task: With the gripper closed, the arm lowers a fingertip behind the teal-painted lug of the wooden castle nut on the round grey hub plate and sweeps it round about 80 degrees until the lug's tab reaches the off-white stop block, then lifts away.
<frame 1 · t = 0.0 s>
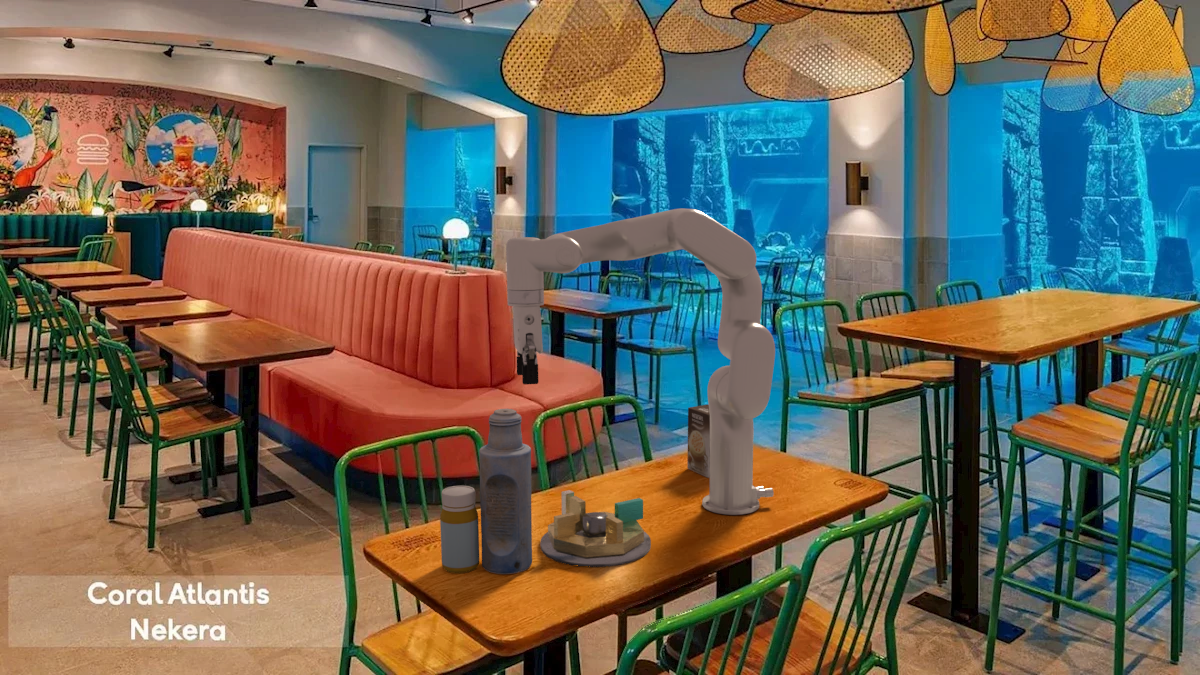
hand: (527, 379, 197), 31 cm above the table, tool pointing down, fingers open, 9 cm apart
coffee box: (707, 472, 237), on the table
hub: (595, 545, 189), on the table
bottle 2: (507, 566, 179), on the table
wooden castle nut: (599, 523, 188), point 4 cm above the table, hinge at 0.0°
bottle: (460, 568, 178), on the table
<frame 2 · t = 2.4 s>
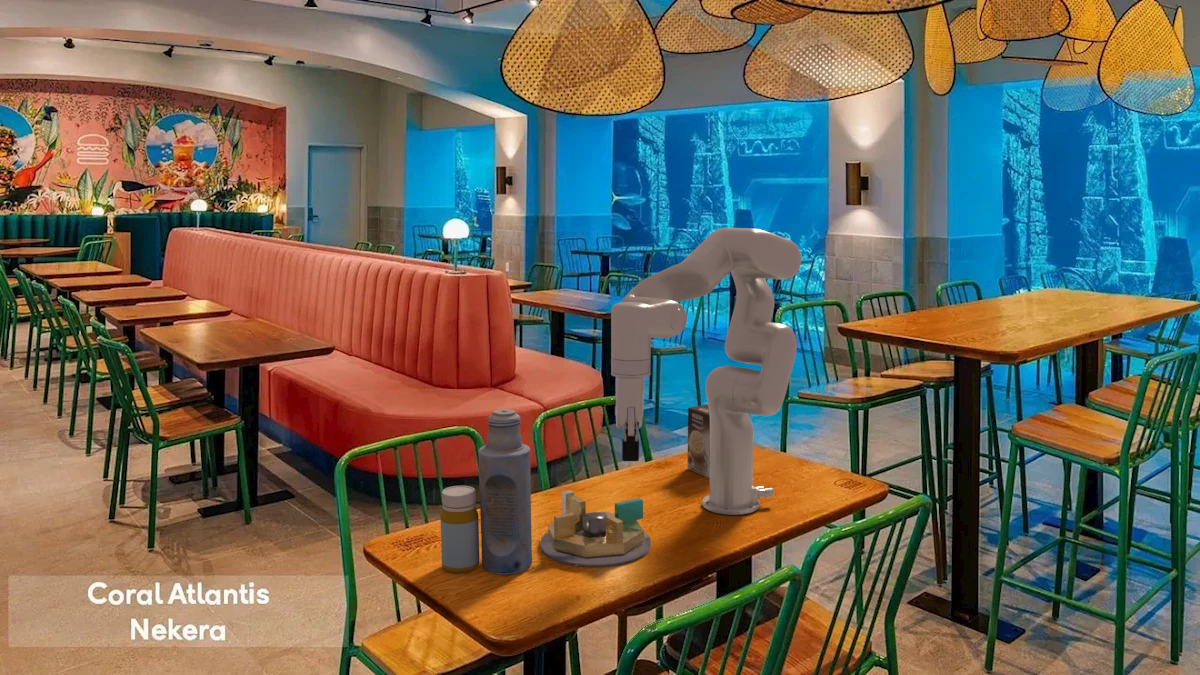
hand: (630, 459, 183), 18 cm above the table, tool pointing down, fingers closed
nothing on the table moved.
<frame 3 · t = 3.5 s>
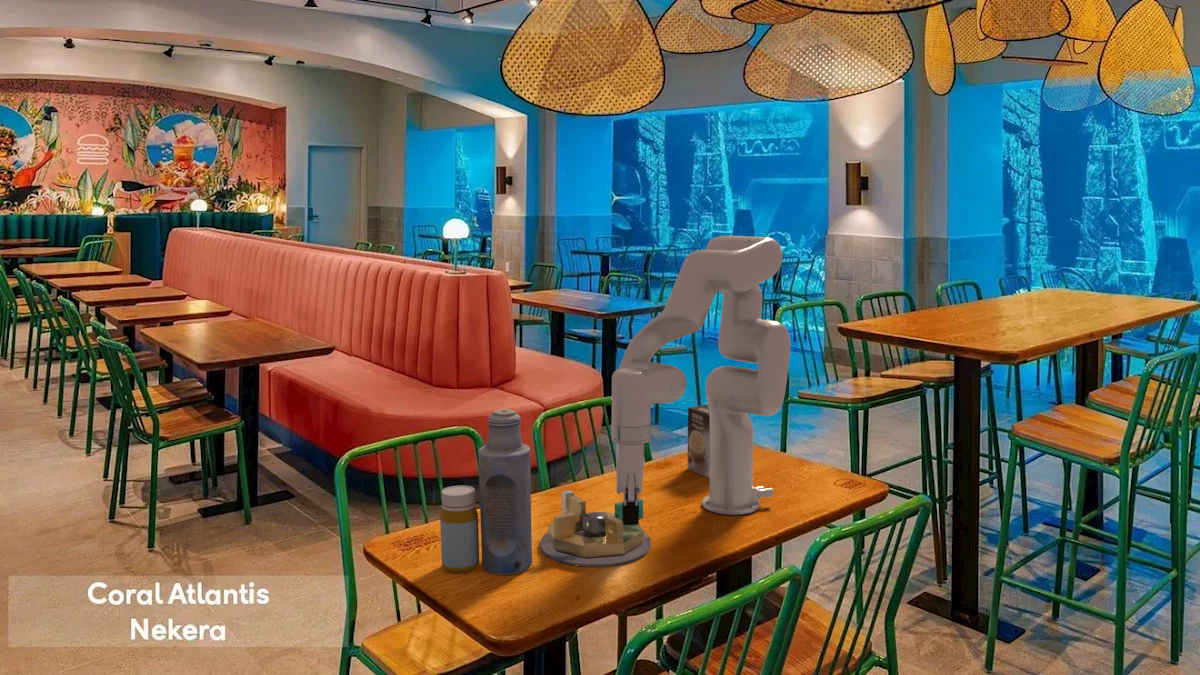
hand: (630, 523, 185), 5 cm above the table, tool pointing down, fingers closed
nothing on the table moved.
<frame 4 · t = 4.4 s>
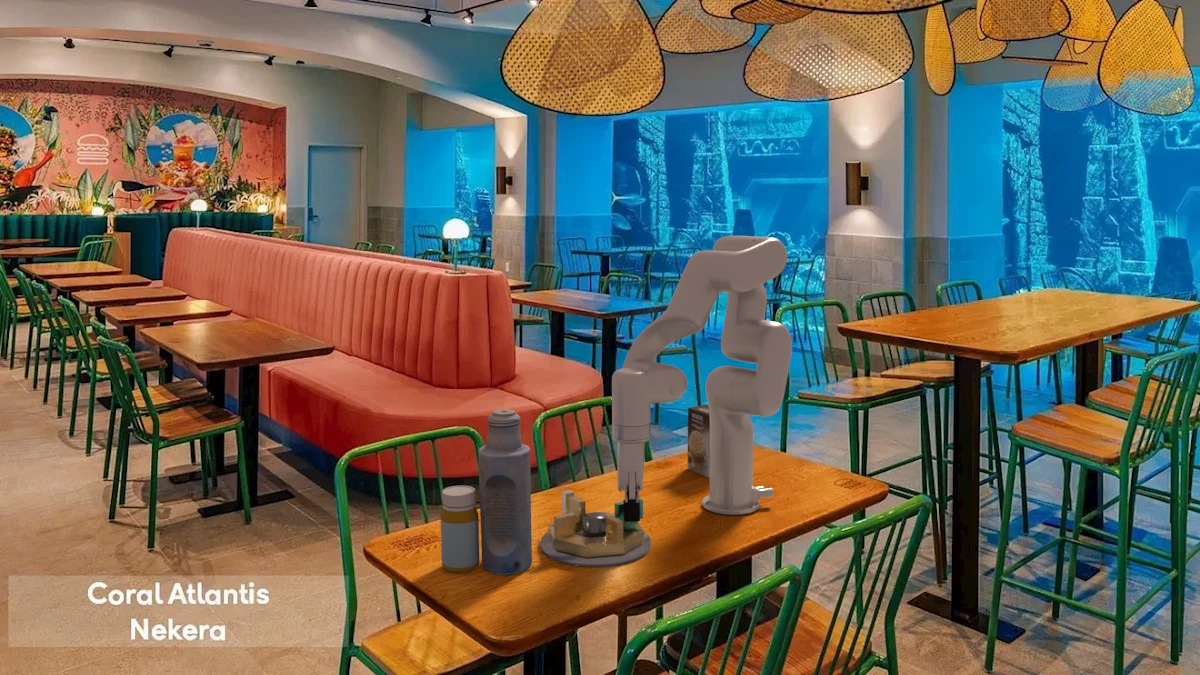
hand: (631, 520, 189), 5 cm above the table, tool pointing down, fingers closed
wooden castle nut: (599, 523, 188), point 4 cm above the table, hinge at 0.3°, touching gripper
everything else where it was.
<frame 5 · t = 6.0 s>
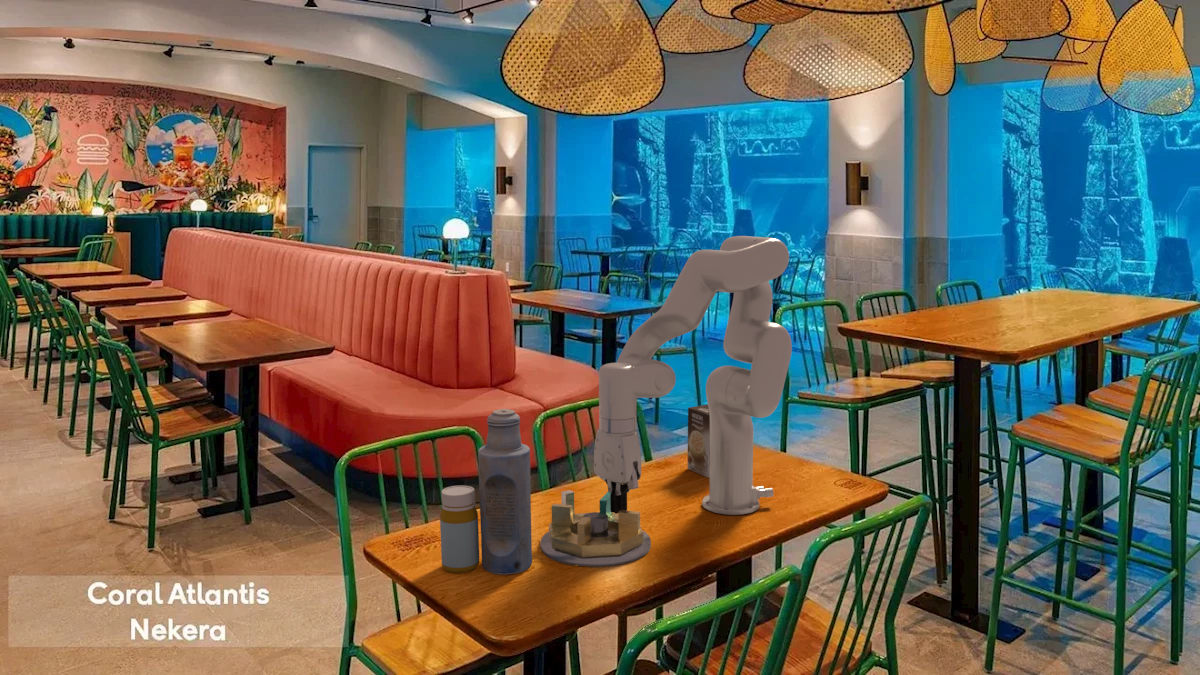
hand: (618, 511, 193), 5 cm above the table, tool pointing down, fingers closed
wooden castle nut: (597, 522, 189), point 4 cm above the table, hinge at 40.9°, touching gripper
everything else where it was.
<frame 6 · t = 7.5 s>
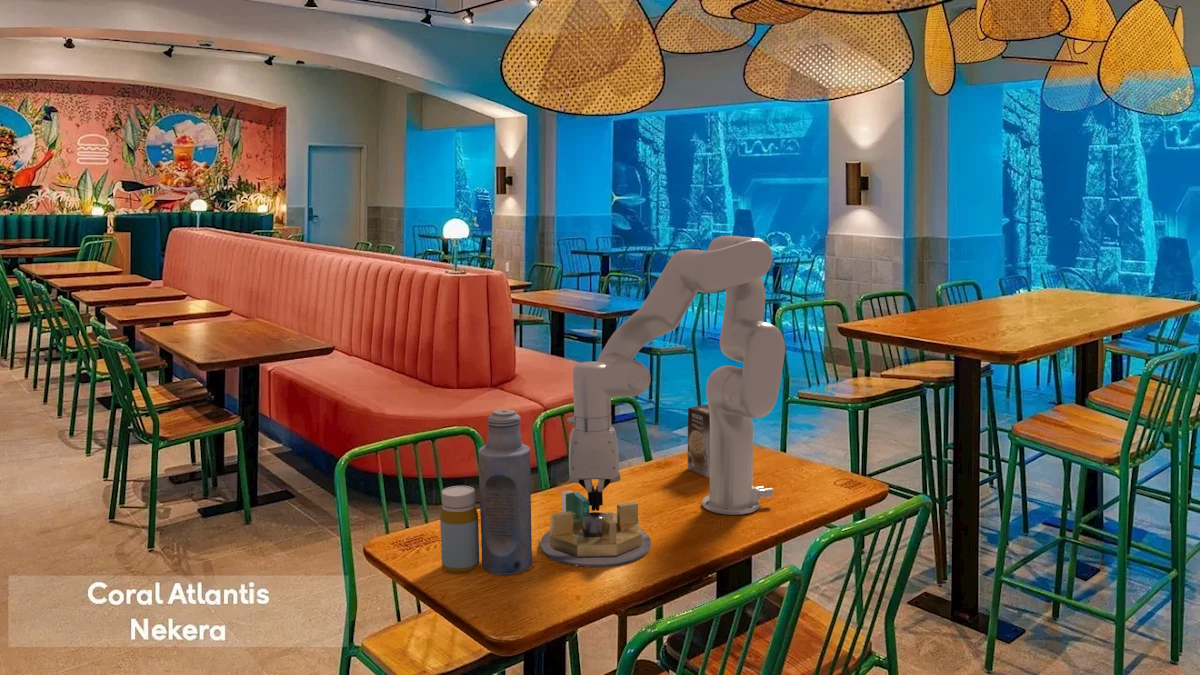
hand: (595, 508, 195), 5 cm above the table, tool pointing down, fingers closed
wooden castle nut: (595, 522, 189), point 4 cm above the table, hinge at 80.4°, touching gripper, hub
everything else where it was.
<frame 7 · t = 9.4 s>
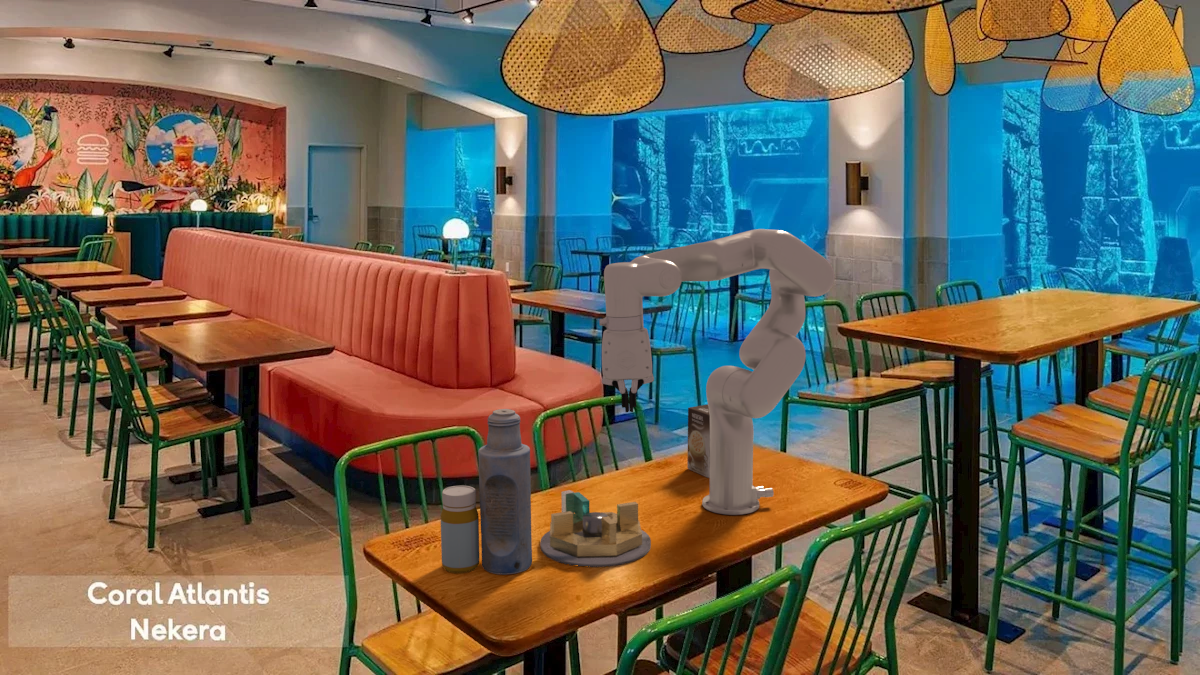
hand: (629, 410, 196), 25 cm above the table, tool pointing down, fingers closed
wooden castle nut: (595, 522, 189), point 4 cm above the table, hinge at 80.4°, touching hub
everything else where it was.
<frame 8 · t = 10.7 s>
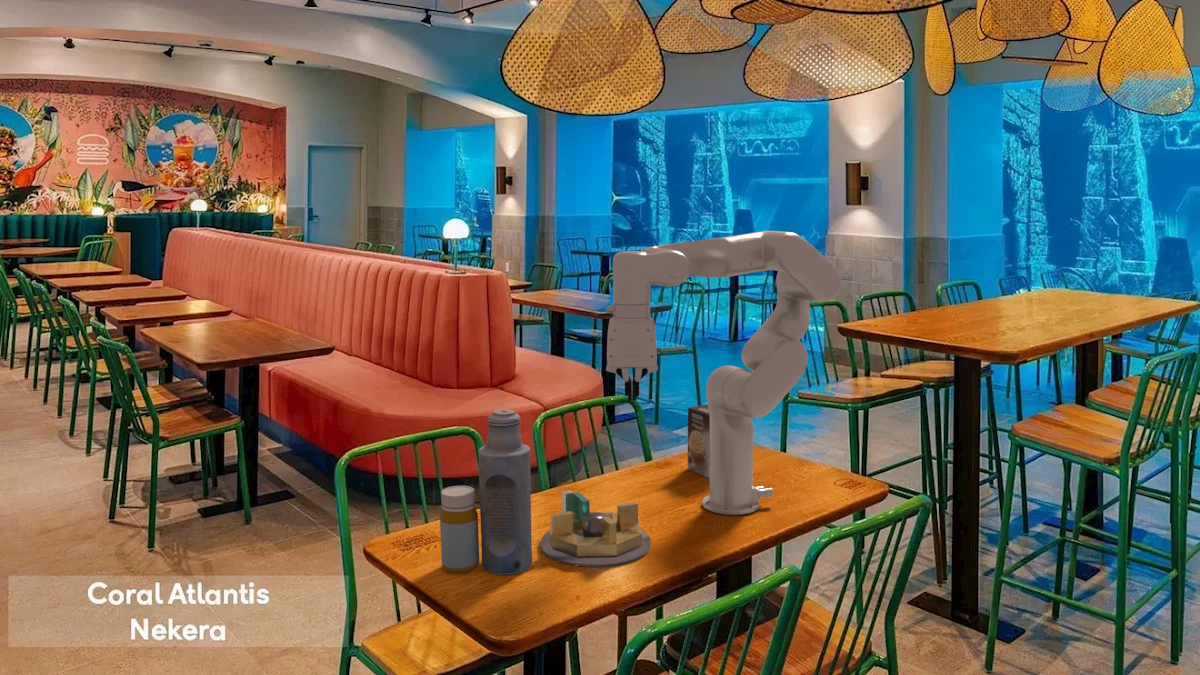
hand: (632, 399, 196), 27 cm above the table, tool pointing down, fingers closed
nothing on the table moved.
at the end: wooden castle nut at +80° (first picture: +0°); the gripper is holding nothing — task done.
